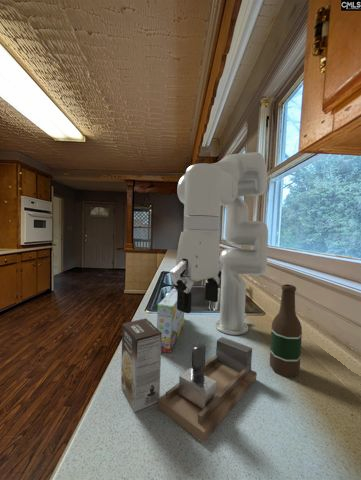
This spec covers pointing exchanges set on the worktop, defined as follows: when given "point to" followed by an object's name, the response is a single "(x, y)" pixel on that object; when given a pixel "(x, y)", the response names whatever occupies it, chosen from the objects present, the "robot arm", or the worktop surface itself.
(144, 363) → the coffee box
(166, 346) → the snack box
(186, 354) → the worktop surface
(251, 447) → the worktop surface
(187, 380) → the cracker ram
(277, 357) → the beer bottle
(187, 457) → the worktop surface
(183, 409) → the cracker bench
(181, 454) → the worktop surface
